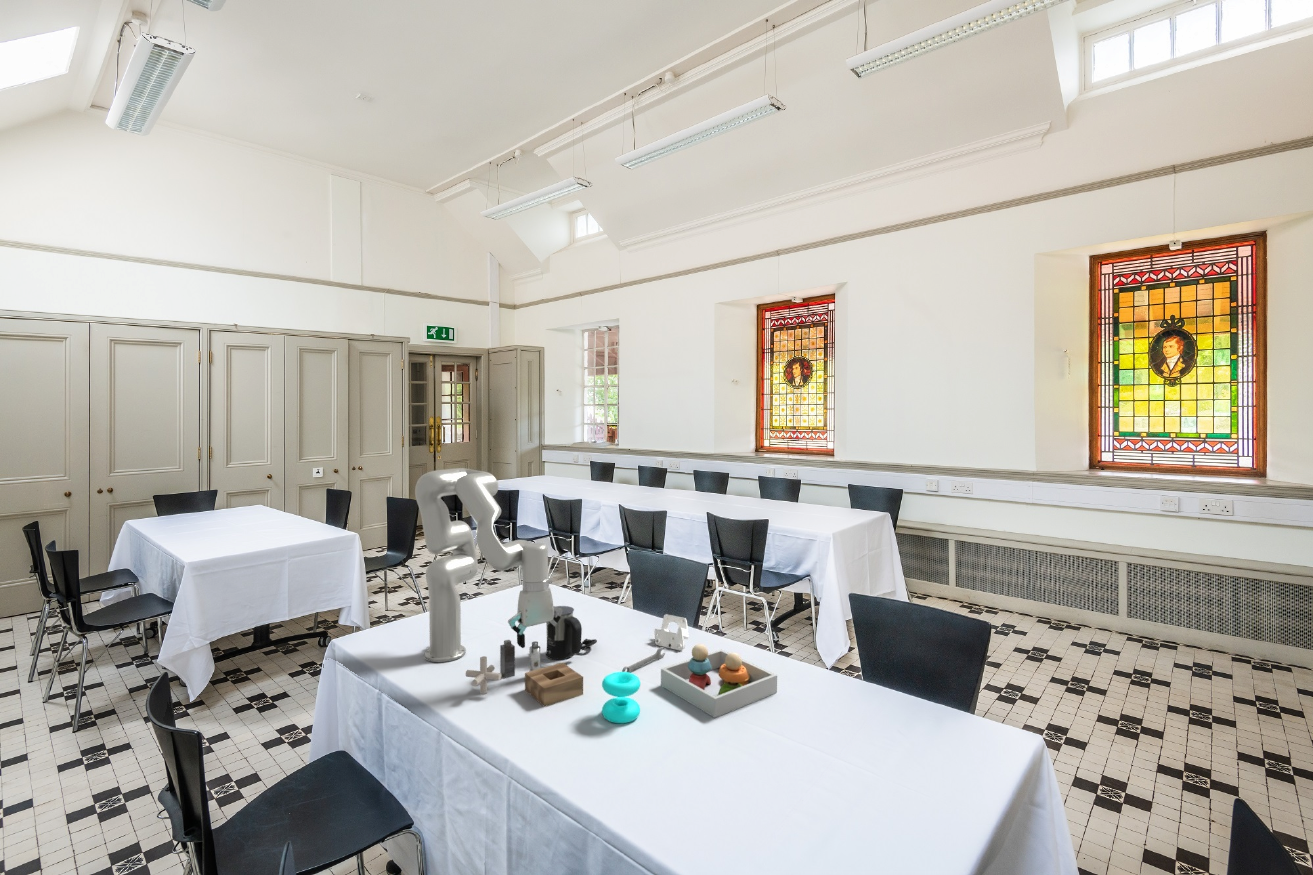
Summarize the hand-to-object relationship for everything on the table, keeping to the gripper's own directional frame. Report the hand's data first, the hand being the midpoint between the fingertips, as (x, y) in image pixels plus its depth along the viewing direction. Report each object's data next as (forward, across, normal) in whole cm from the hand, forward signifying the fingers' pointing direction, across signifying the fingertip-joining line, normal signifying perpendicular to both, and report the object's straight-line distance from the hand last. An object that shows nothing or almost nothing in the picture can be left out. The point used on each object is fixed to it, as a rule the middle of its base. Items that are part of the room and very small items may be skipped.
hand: (536, 642), depth 179 cm
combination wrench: (+12, -31, +12) cm, 35 cm away
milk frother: (+11, -18, -11) cm, 23 cm away
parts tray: (+12, -38, +37) cm, 55 cm away
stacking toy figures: (+12, -40, +36) cm, 55 cm away
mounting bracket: (+12, -49, +3) cm, 51 cm away
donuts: (+12, -8, +33) cm, 36 cm away
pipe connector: (+11, +16, 0) cm, 20 cm away
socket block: (+11, 0, +11) cm, 16 cm away
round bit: (+11, 0, -1) cm, 11 cm away
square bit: (+10, +6, -7) cm, 14 cm away
